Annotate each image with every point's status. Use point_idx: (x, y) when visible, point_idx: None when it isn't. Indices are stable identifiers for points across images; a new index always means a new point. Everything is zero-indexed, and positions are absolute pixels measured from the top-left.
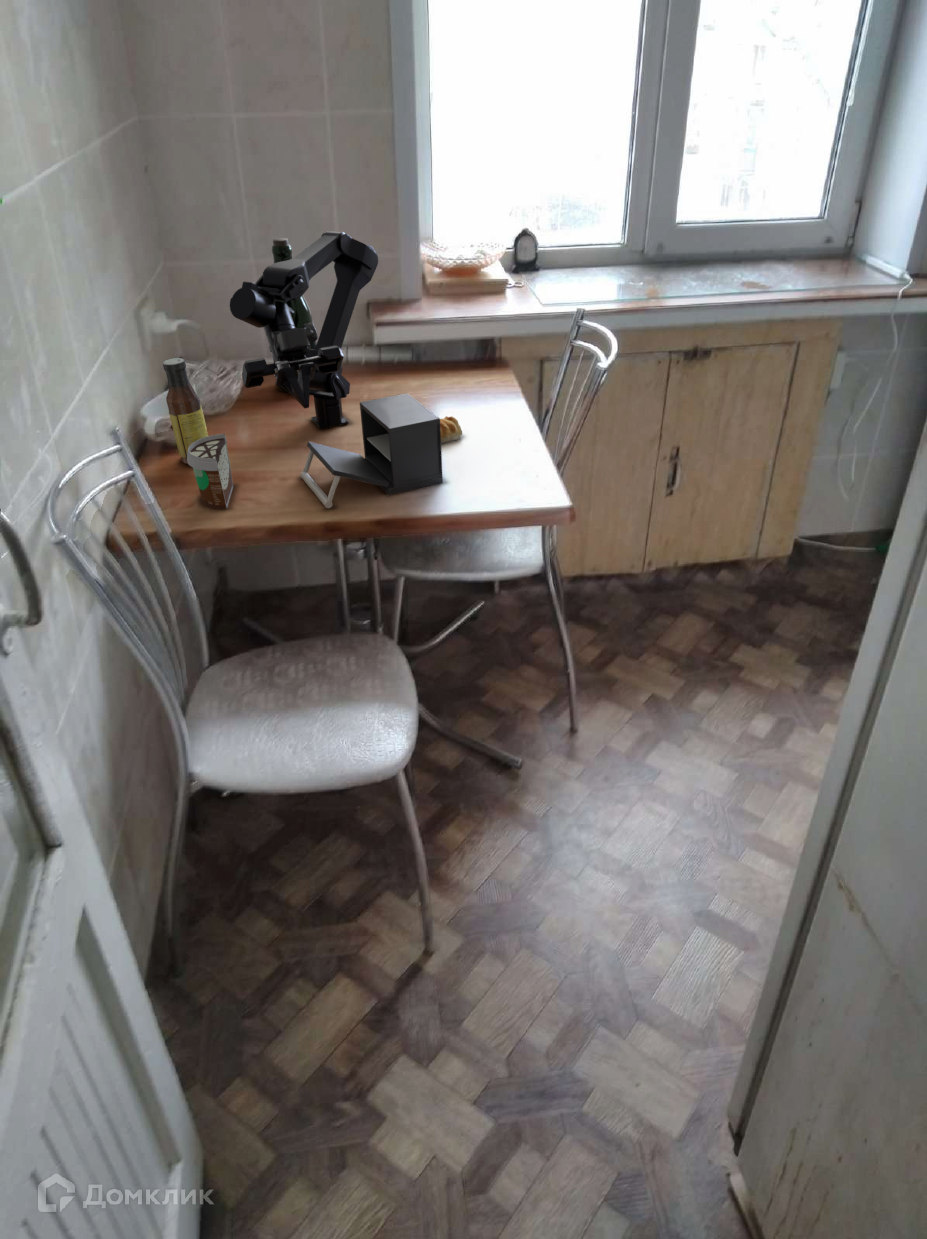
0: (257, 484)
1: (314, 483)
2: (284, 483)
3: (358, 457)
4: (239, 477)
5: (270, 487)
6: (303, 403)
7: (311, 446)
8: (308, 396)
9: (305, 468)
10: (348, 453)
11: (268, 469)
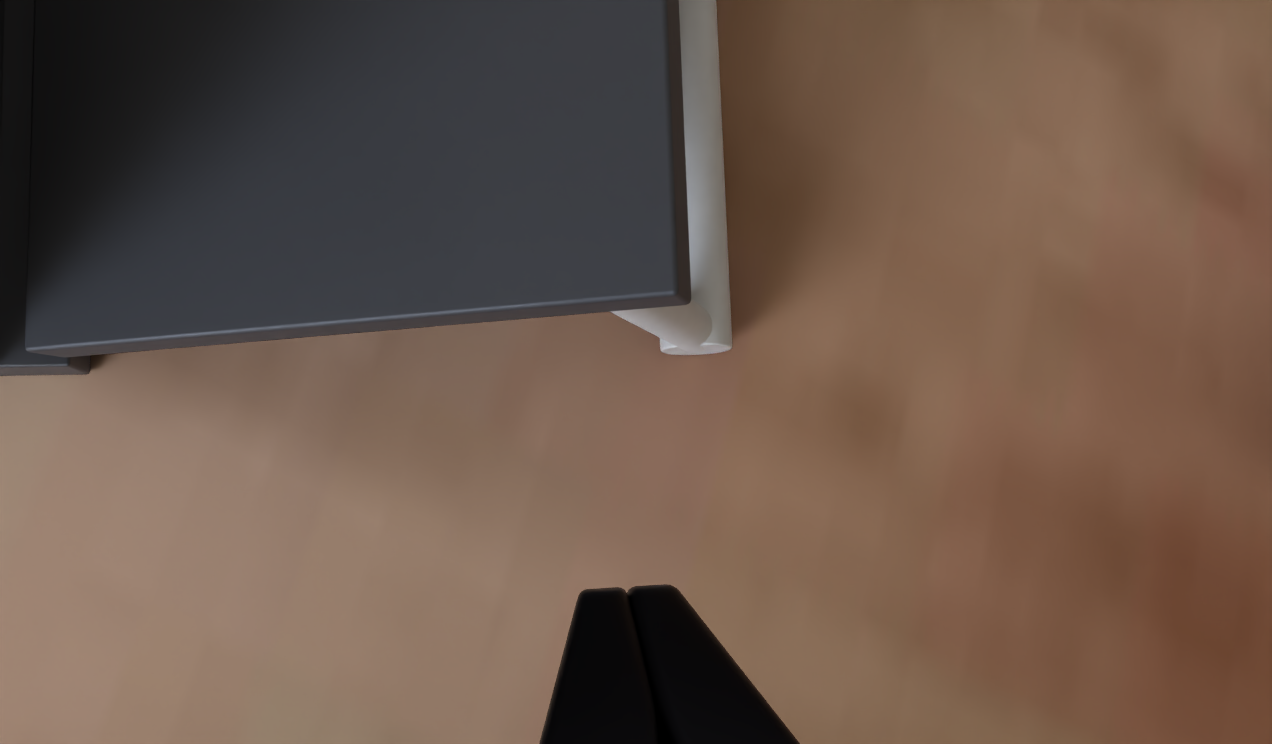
0: (1091, 422)
1: (683, 23)
2: (877, 327)
3: (103, 175)
4: (1207, 646)
5: (1003, 307)
6: (705, 625)
7: (675, 130)
8: (566, 721)
9: (695, 302)
10: (192, 232)
11: (944, 708)
